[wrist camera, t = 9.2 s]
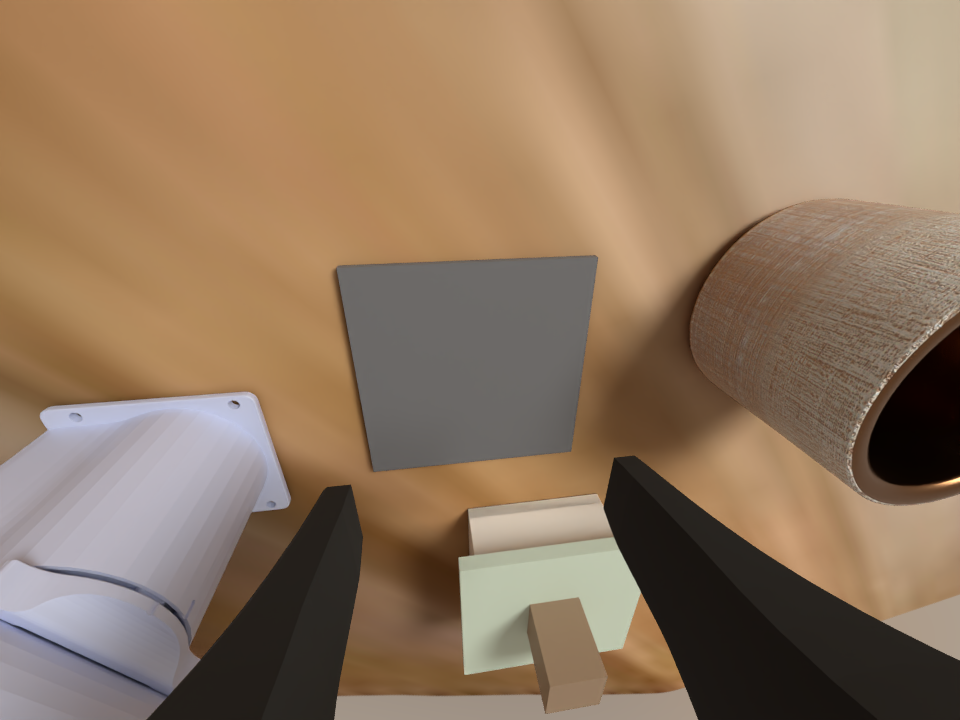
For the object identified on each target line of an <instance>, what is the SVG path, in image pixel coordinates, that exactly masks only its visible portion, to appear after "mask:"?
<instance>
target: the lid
mask: <svg viewBox="0 0 960 720" xmlns="http://www.w3.org/2000/svg"><path fill="white" fill-rule="evenodd" d="M458 559H459V581H460V602H461V623H462V645H463V664H464V675H467V674H473V673H479V672H485V671H491V670H497V669H503V668H509V667H515V666H521V665H527V664H533V663H534V665H535V670H536V674H537V679H538V683H539V688H540V692H541V696H542V701H543V705H544V710H545V713H546V714H548V713H554V712H559V711H564V710H570V709H575V708H580V707H586V706H591V705H596V704H599V703H600V700H601V697H602V693H603V690H604V687H605V684H606V681H607V677H608V676H607V673H606V671H605V668H604V665H603V662H602V660H601V657H600V654H599V652H604V651H610V650H616V649H622V648H623V645H624V642H625V639H626V636H627V633H628V630H629V627H630V623H631V620H632V617H633V614H634V611H635V608H636V605H637V602H638V599H639V596H640V593H641V591H640V589H639V587H638V585H637V583H636V581H635V579H634V577H633V576H632V574H631V572H630V570H629V568H628V566H627V564H626V562H625V560H624V558H623V556H622V554H621V552H620V550H619V548H618V546H617V544H616V541H615V539H614V537H610V538H602V539H595V540H587V541H579V542H572V543H564V544H557V545H549V546H541V547H534V548H526V549H519V550H511V551H503V552H496V553H488V554H480V555H473V556H465V557H458Z"/></svg>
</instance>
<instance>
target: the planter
mask: <svg viewBox="0 0 960 720" xmlns="http://www.w3.org/2000/svg"><path fill="white" fill-rule="evenodd" d="M689 341H690V348H691V352H692V355H693V358H694V360H695V363H696V364H697V366H698V368H699V369H700V370H701V371H702V373H703V374H704V375H705V376H706V377H707V378H708V379H709V380H710V381H711V382H712V383H713V384H715V385H716V386H717V387H718V388H720V389H721V390H722V391H724V392H725V393H726V394H728V395H729V396H730V397H732V398H733V399H734V400H736V401H737V402H738V403H740V404H741V405H742V406H744V407H745V408H746V409H748V410H749V411H750V412H752V413H753V414H754V415H756V416H757V417H758V418H760V419H761V420H762V421H764V422H765V423H766V424H768V425H769V426H770V427H772V428H773V429H774V430H776V431H777V432H778V433H780V434H781V435H782V436H784V437H785V438H786V439H788V440H789V441H790V442H792V443H793V444H794V445H796V446H797V447H798V448H799V449H801V450H802V451H803V452H805V453H806V454H807V455H809V456H810V457H811V458H813V459H814V460H815V461H816V462H818V463H819V464H820V465H822V466H823V467H824V468H826V469H827V470H828V471H829V472H831V473H832V474H833V475H835V476H836V477H837V478H839V479H840V480H841V481H842V482H844V483H845V484H846V485H848V486H849V487H850V488H852V489H853V490H854V491H855V492H857V493H858V494H860V495H861V496H862V497H864V498H866V499H868V500H870V501H872V502H875V503H879V504H884V505H893V506H906V505H917V504H923V503H929V502H934V501H938V500H942V499H945V498H949V497H952V496H955V495H958V494H960V214H958V213H950V212H943V211H935V210H928V209H920V208H913V207H905V206H898V205H890V204H882V203H874V202H866V201H858V200H850V199H820V200H812V201H807V202H803V203H799V204H796V205H793V206H790V207H788V208H785V209H783V210H781V211H779V212H777V213H775V214H773V215H771V216H769V217H768V218H766V219H764V220H763V221H761V222H760V223H758V224H757V225H755V226H754V227H753V228H751V229H750V230H749V231H747V232H746V233H745V234H744V235H743V236H742V237H740V238H739V239H738V240H737V241H736V242H735V243H734V244H733V245H732V246H731V247H730V248H729V249H728V250H727V251H726V252H725V254H724V255H723V256H722V257H721V258H720V260H719V261H718V262H717V264H716V265H715V266H714V268H713V269H712V271H711V272H710V274H709V275H708V277H707V279H706V280H705V282H704V284H703V286H702V288H701V290H700V292H699V295H698V297H697V299H696V302H695V305H694V308H693V312H692V316H691V321H690V330H689Z"/></svg>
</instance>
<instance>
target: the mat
mask: <svg viewBox="0 0 960 720" xmlns="http://www.w3.org/2000/svg"><path fill="white" fill-rule="evenodd" d="M597 261H598V257H597V256H595V255H593V256H568V257H543V258H518V259H493V260H468V261H443V262H418V263H393V264H368V265H343V266H338V267H337V274H338V279H339V285H340V290H341V296H342V301H343V307H344V312H345V318H346V323H347V328H348V334H349V339H350V345H351V350H352V356H353V361H354V367H355V372H356V378H357V383H358V389H359V394H360V400H361V405H362V411H363V416H364V421H365V427H366V432H367V438H368V443H369V449H370V454H371V460H372V465H373V471H374V472H377V471H387V470H396V469H406V468H416V467H426V466H435V465H445V464H455V463H464V462H474V461H484V460H493V459H503V458H513V457H523V456H532V455H542V454H552V453H561V452H571V449H572V441H573V434H574V427H575V420H576V413H577V405H578V398H579V391H580V384H581V377H582V369H583V362H584V355H585V348H586V341H587V333H588V326H589V319H590V312H591V305H592V297H593V290H594V283H595V276H596V269H597Z"/></svg>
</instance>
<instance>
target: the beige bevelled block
mask: <svg viewBox="0 0 960 720" xmlns="http://www.w3.org/2000/svg"><path fill="white" fill-rule="evenodd" d="M603 508H604V507H603V505H602V503H601V501H600V499H599V497H598V495H597V494H591V495H582V496H574V497H565V498H557V499H548V500H540V501H531V502H523V503H514V504H506V505H497V506H489V507H480V508H472V509H468V528H469V556H473V555H480V554H488V553H496V552H503V551H511V550H519V549H526V548H534V547H541V546H549V545H557V544H564V543H572V542H579V541H587V540H595V539H602V538H610V537H614V536H613V534H612V531H611V528H610V526H609V523H608V520H607V517H606V515H605V512H604V509H603Z"/></svg>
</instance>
